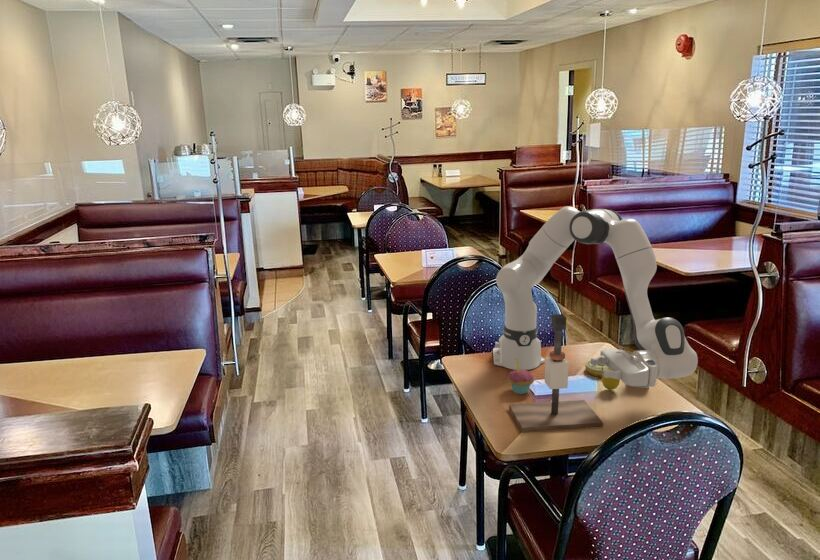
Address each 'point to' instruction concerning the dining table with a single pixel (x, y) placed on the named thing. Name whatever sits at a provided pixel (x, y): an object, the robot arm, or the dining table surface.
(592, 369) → the decorated donut
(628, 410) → the dining table surface
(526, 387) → the cupcake
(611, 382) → the lemon
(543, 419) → the post stand
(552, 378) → the sleeve
